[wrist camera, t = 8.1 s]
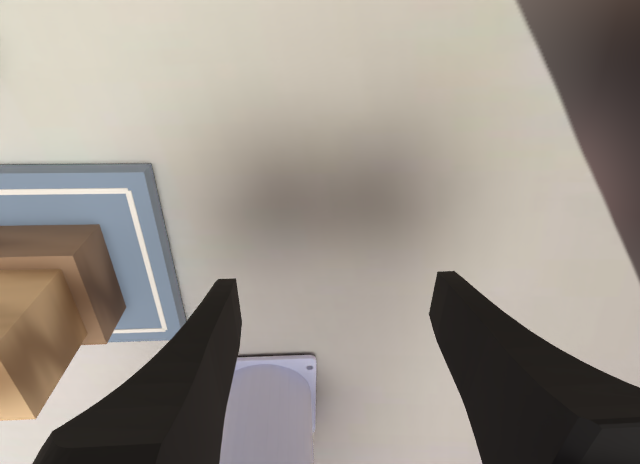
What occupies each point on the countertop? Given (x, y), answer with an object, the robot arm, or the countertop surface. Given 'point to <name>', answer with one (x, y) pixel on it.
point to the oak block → (35, 338)
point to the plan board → (112, 230)
